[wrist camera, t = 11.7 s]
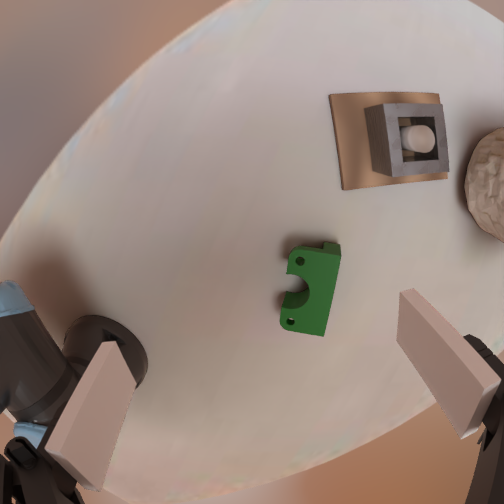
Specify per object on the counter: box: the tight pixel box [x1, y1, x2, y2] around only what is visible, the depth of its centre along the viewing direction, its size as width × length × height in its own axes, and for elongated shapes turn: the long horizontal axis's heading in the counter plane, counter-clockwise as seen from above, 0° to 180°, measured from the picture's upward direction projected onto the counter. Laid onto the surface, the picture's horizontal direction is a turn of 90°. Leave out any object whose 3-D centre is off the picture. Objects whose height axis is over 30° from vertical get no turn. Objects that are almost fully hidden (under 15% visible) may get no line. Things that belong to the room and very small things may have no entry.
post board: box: [329, 92, 448, 190], centre depth 31 cm, size 16×12×8 cm
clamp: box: [280, 242, 341, 337], centre depth 39 cm, size 12×6×9 cm, turn 169°
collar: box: [364, 103, 449, 177], centre depth 31 cm, size 8×8×6 cm
